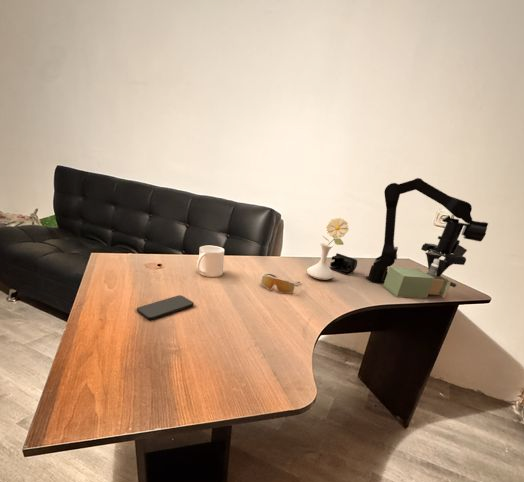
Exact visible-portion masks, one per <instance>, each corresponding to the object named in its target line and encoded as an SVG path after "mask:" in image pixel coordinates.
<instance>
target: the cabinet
mask: <svg viewBox="0 0 524 482" xmlns="http://www.w3.org/2000/svg"><path fill="white" fill-rule="evenodd" d="M388 267H389V268H388V273H387V276H386V279H385V282H384V283H383V285H382V287H383V288H385V289H386V290H387V291H389V293H391V294H393V295H394V296H395V297H398V298H417V299H419V298H420V299H427V298H428V296H429V294H428V293H429V291H430V289H431V286H432V284H433V281H434V279H435V278H434V277H432V276H430V275H428V274H427V273H428V272H425V271H423V270H421V269H420V268H414V267H402V266H401V267H400V266H388Z"/></svg>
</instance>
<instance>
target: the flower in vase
mask: <svg viewBox="0 0 524 482" xmlns="http://www.w3.org/2000/svg"><path fill="white" fill-rule="evenodd" d="M348 224H349V223H348V221H346V220H345V219H344V218H342V217H335V218H333V219H331V220H330V221H329V222H328V223H327V225H326V227H325V228H326V234H327V235H329V236H330V237H332V240H331V241H330V240H329V239H328V238H327V237H325V236H324V235H322V237H323V238H324V239H325V240H326V241H328V242H329V243H325V242H321V243H320V247H321V255H320V256H321V258H320V259H319V261H318V262H317V263H315V264H313V265H311V266H310V267H308V268H307V270H306V273H307V275H308V276H309V277H311V278H313V279H317V280H320V281H321V280H322V281H324V280H325V281H326V280H327V281H328V280H333V278H334V277H335V275H334V272H333V270H332V269H330V266H329V265H328V264H327V258H328V255H329V252H330V250H331V249H332V248H333V247H334V245H333V244H332V243H333V242H334V244H335V245H337V246H344V245H345V244H344V241H343V240H342V239H341V238H342V237H344V236H345V235H346V234H347V233H348V232H349V225H348Z"/></svg>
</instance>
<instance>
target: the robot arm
mask: <svg viewBox="0 0 524 482" xmlns="http://www.w3.org/2000/svg"><path fill="white" fill-rule="evenodd" d="M412 191H418V192H419V193H421V194H423V195H424V196H426V197H427V198H430V199H431V200H432V201H435V202H436V203H438V204H439V205H442V206H443V207H444V208H445V209H446V210H447V211H448V212H449V213H450V214H451V215H453V216H454V217H455V218H454V217H451V216H450V215H449V214H447V216H446V217H443V218H442V219H441V222H444V223H446V224H445V226H444V228H443V230H442V233H441V236H440V235H438V236H437V239H438V240H439V241H438V243H437V244H435V243H428V242H425V243H424V244H422V246H421V251H423V252H424V254H425V255H426V261H427V269H428V271H429V269H430V266H431V264H432V263H433V261H434V259H441V258H442V257H444V258H443V259H441V260H439V265H438V270H437V276H440V275H442V274H444V272H445V271H446V270H448V268H450V267H451V266H452V265H460V266H465V264H466V263H467V258H466V257H465V254H466V252H467V251H468V249H466V248H465V247H463V246H462V245H461V244H460V243H461V240H459V238H460V235H461V236H463V239H465V240H470V241H475V242H480V243H481V242H483V240H484V239H485V236H486V234H487V233H486V232H487V230H488V226H489V223H488V222H486V221H479V220H478V221H477V220H473V217H472V215H471V213H472V210H473V207H472V206H473V205H471V203H470V202H468V201H466V200H463V199H459V198H457V197H454V196H451V195H448V194H447V193H445V192H443V191H441V190H440V189H439V188H436V187H435V186H433V185H431V184H429V183H428V182H426V181H424V179H422V178H421V177H416V178H414V179H412V180H408V181H405V182H401V183H398V182H391V183H389V184H388V185H387V186H386V187H385V188H384V191H383V192H384V203H385V207H386V208H385V209H386V212H385V227H384V242H383V247H382V251H381V254H380V256H378V257H375V259H374V262H373V264H372V265H371V266H370V269H369V273H368V275H366V276H365V277H366V279H368V280H369V281H370V282H372V283H376V284H384V282H385V279H386V276H387V273H388V270H389V268H388V267H392V266H393V265H394V264H395V261H396V260H397V259H398V249H399V246H395V233H396V232H395V230H396V218H397V207H398V204H399V200H400V196H401V195H403V194H406V193H409V192H412ZM460 219H461V220H462V221H463V222H461V221H460Z"/></svg>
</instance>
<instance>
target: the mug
mask: <svg viewBox="0 0 524 482" xmlns="http://www.w3.org/2000/svg"><path fill="white" fill-rule="evenodd" d="M198 251H199V254H198V255H199V257H198V258H197V261H196V266H195V267H196V271H197V272H198V273H199V274H200V275H201V276H204V277H208V278H218V277H221V276H222V275H223V274H224V263H225V262H224V261H225V259H224V258H225V248H223V247H220V246H217V245H201V246H199V250H198Z"/></svg>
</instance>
